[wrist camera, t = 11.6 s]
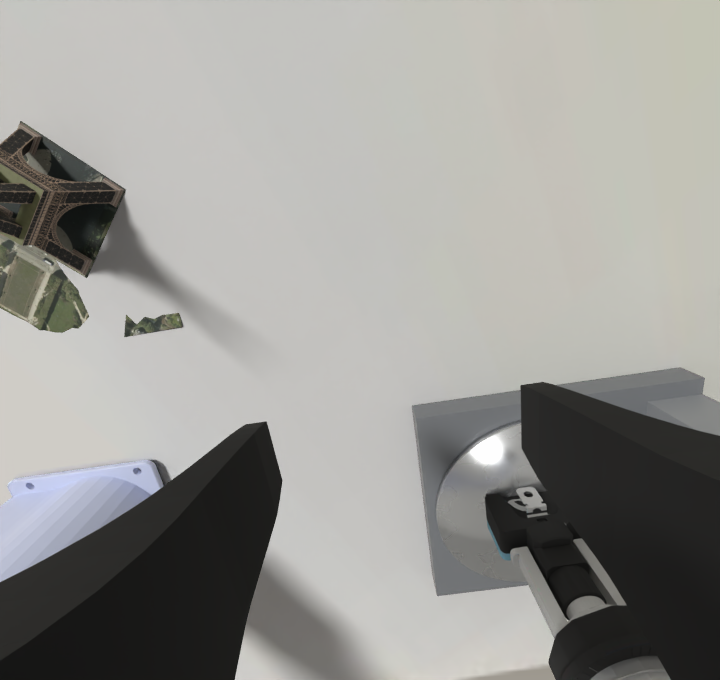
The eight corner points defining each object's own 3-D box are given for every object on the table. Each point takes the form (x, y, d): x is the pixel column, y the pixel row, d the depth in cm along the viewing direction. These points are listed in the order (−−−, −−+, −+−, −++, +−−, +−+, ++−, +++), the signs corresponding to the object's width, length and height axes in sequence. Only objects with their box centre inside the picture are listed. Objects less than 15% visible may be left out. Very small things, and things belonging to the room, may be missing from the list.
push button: (590, 458, 20) (801, 664, 11) (589, 529, 22) (771, 764, 12) (475, 476, 20) (580, 693, 11) (482, 545, 22) (578, 787, 12)
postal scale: (432, 575, 25) (457, 686, 19) (411, 405, 21) (434, 478, 15) (663, 546, 25) (765, 652, 19) (689, 366, 21) (832, 425, 14)
